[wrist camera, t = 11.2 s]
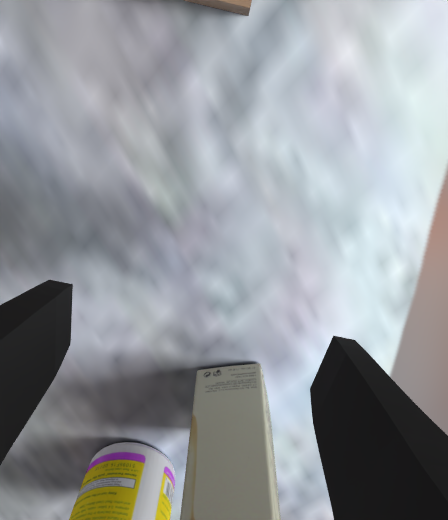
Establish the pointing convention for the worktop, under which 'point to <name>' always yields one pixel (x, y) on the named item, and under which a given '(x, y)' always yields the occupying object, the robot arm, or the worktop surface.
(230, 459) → the skincare box
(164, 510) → the supplement bottle
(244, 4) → the walnut block
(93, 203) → the worktop surface
